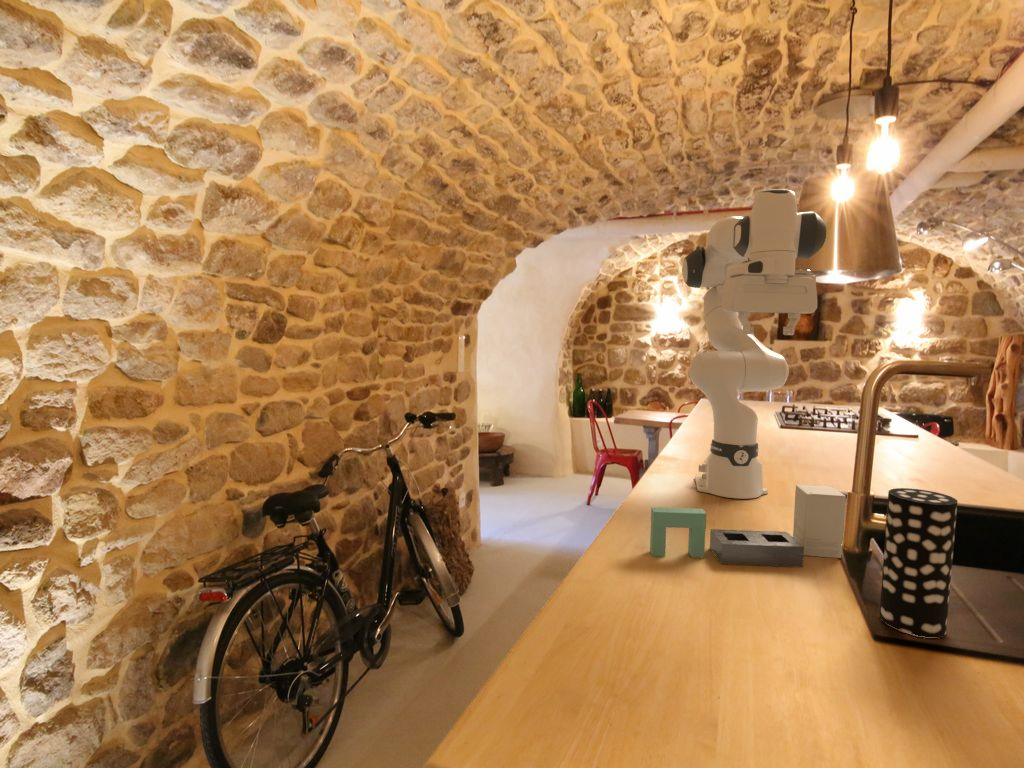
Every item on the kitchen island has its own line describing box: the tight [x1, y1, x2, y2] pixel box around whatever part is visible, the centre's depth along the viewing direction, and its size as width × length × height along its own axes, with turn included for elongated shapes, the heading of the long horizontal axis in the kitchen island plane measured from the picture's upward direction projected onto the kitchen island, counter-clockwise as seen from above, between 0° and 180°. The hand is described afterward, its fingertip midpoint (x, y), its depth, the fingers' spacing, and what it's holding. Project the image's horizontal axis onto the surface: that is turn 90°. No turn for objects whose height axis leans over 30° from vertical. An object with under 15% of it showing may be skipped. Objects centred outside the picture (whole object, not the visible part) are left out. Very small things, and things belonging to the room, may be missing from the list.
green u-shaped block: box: [649, 506, 707, 558], centre depth 111 cm, size 3×10×9 cm, turn 86°
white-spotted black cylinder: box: [879, 487, 958, 638], centre depth 85 cm, size 8×8×20 cm
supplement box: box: [792, 484, 847, 559], centre depth 114 cm, size 7×7×13 cm
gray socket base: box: [709, 528, 805, 568], centre depth 110 cm, size 8×15×4 cm, turn 86°
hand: (768, 334), depth 118 cm, fingers open, 8 cm apart
